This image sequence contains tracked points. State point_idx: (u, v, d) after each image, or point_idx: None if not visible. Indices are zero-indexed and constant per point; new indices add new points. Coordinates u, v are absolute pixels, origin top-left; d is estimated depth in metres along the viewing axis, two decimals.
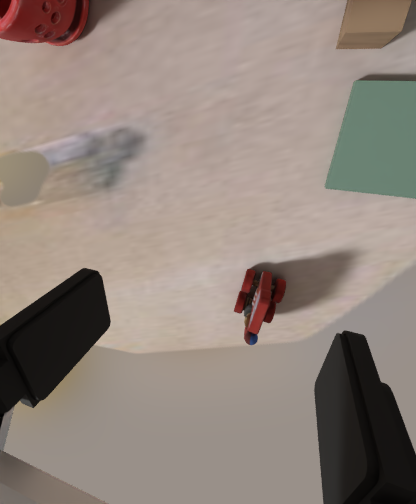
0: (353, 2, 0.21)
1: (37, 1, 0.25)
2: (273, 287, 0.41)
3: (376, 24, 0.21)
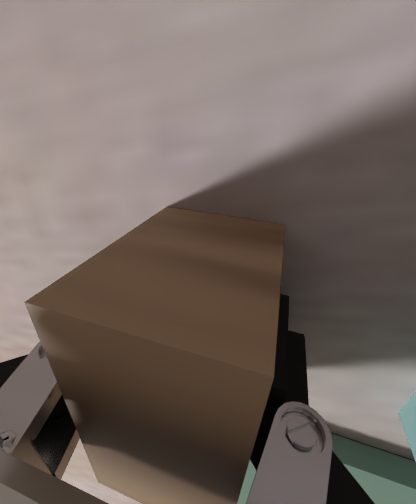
0: None
1: None
2: None
3: None
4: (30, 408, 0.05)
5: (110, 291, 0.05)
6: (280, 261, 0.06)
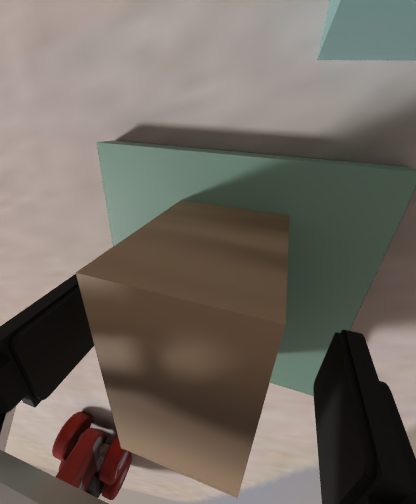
0: None
1: None
2: None
3: (178, 466, 0.08)
4: None
5: (144, 265, 0.06)
6: (286, 244, 0.07)
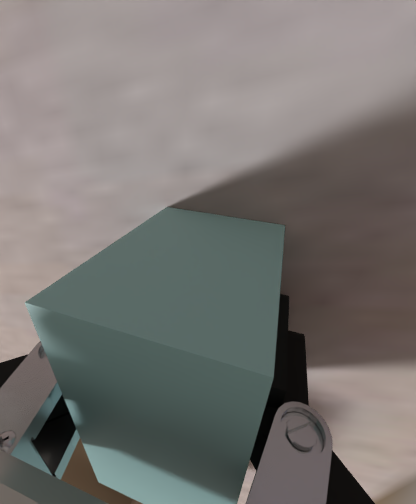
0: None
1: None
2: None
3: None
4: (30, 408, 0.05)
5: None
6: None
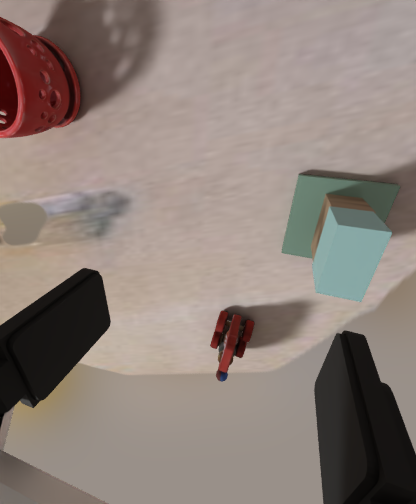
0: None
1: (36, 115, 0.31)
2: (243, 328, 0.47)
3: None
4: None
5: (342, 206, 0.28)
6: (367, 203, 0.29)
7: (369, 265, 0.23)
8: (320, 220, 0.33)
